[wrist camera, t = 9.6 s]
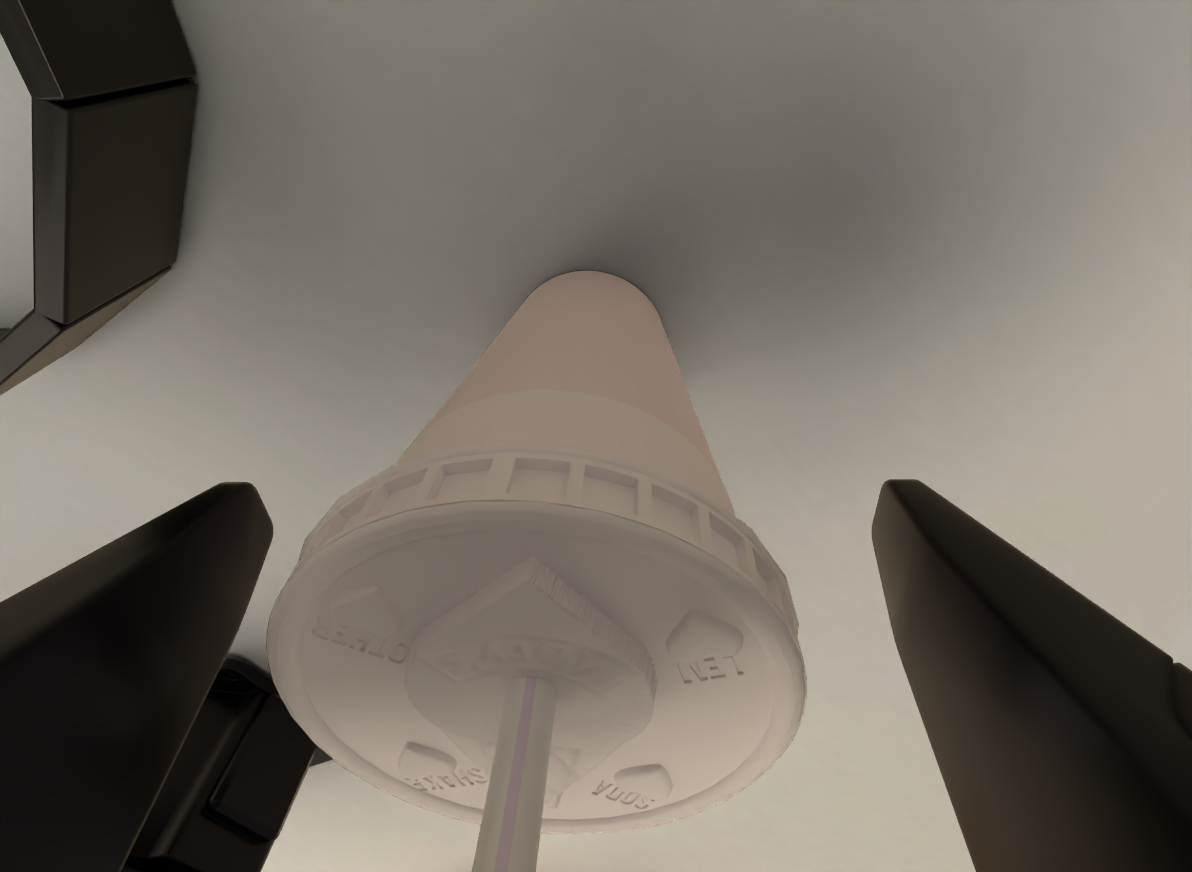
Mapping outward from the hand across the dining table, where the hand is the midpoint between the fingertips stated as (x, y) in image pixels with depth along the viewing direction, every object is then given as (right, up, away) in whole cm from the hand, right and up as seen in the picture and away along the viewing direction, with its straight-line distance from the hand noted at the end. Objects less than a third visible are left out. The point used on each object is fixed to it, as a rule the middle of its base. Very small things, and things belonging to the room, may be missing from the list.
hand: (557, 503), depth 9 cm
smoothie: (0, +3, +6) cm, 7 cm away
